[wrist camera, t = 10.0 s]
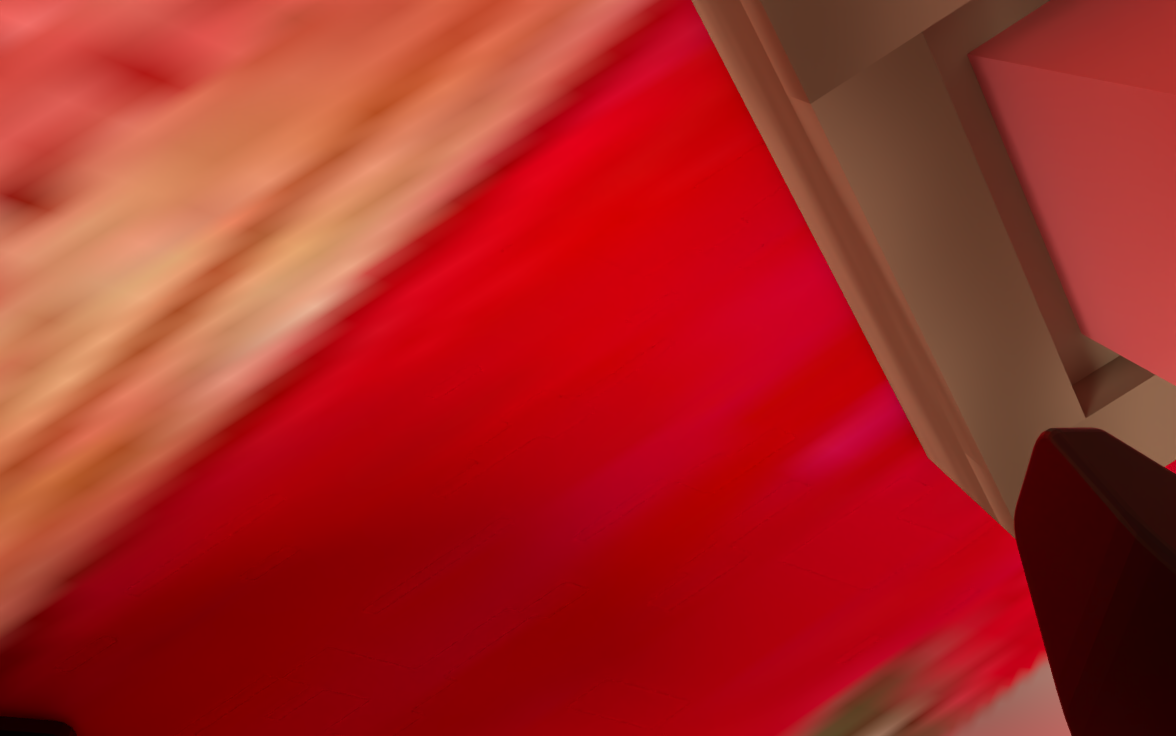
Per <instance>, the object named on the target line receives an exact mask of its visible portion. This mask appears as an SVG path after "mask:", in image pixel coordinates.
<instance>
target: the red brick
mask: <svg viewBox="0 0 1176 736" xmlns="http://www.w3.org/2000/svg"><path fill="white" fill-rule="evenodd" d="M967 56H968V58H969V60H970V63H971V65H972V68H973V70H974V73H975V75H976V78H977V80H978V82H979V85H980V87H981V90H982V92H983V95H984V97H985V100H986V102H987V104H988V107H989V109H990V112H991V114H992V117H993V119H994V121H995V124H996V126H997V129H998V131H999V134H1000V136H1001V139H1002V141H1003V143H1004V146H1005V148H1006V151H1007V153H1008V156H1009V158H1010V160H1011V163H1012V165H1013V168H1014V170H1015V173H1016V175H1017V178H1018V180H1019V182H1020V185H1021V187H1022V190H1023V192H1024V195H1025V197H1026V199H1027V202H1028V204H1029V207H1030V209H1031V212H1032V214H1033V217H1034V219H1035V221H1036V224H1037V226H1038V229H1039V231H1040V234H1041V236H1042V239H1043V241H1044V243H1045V246H1046V248H1047V251H1048V253H1049V256H1050V258H1051V260H1052V263H1053V265H1054V268H1055V270H1056V273H1057V275H1058V278H1059V280H1060V282H1061V285H1062V287H1063V290H1064V292H1065V295H1066V297H1067V299H1068V302H1069V304H1070V307H1071V309H1072V312H1073V314H1074V317H1075V319H1076V321H1077V324H1078V326H1079V329H1080V331H1081V334H1083V335H1085V336H1086V337H1088V338H1090V339H1092V340H1094V341H1095V342H1097V343H1099V344H1101V345H1103V346H1104V347H1106V348H1108V349H1110V350H1112V351H1113V352H1115V353H1117V354H1119V355H1121V356H1123V357H1124V358H1126V359H1128V360H1130V361H1132V362H1133V363H1135V364H1137V365H1139V366H1141V367H1142V368H1144V369H1146V370H1148V371H1150V372H1151V373H1153V374H1155V375H1157V376H1159V377H1160V378H1162V379H1164V380H1166V381H1168V382H1169V383H1171V384H1173V385H1175V386H1176V0H1050V1H1048V2H1047V3H1045V4H1044V5H1042V6H1041V7H1039V8H1037V9H1036V10H1034V11H1033V12H1031V13H1030V14H1028V15H1027V16H1025V17H1024V18H1022V19H1021V20H1019V21H1017V22H1016V23H1014V24H1013V25H1011V26H1010V27H1008V28H1007V29H1005V30H1004V31H1002V32H1000V33H999V34H997V35H996V36H994V37H993V38H991V39H990V40H988V41H987V42H985V43H983V44H982V45H980V46H979V47H977V48H976V49H974V50H973V51H971V52H970V53H968V54H967Z"/></svg>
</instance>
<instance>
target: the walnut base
mask: <svg viewBox="0 0 1176 736" xmlns="http://www.w3.org/2000/svg"><path fill="white" fill-rule="evenodd" d="M1048 1H1050V0H692V2H693V4H694V6H695V8H696V10H697V12H698V14H699V16H700V18H701V20H702V22H703V24H704V26H705V27H706V29H707V31H708V33H709V35H710V37H711V39H712V41H713V43H714V45H715V47H716V49H717V51H718V53H719V55H720V56H721V58H722V60H723V62H724V64H725V66H726V68H727V70H728V72H729V74H730V76H731V78H732V80H733V82H734V84H735V85H736V87H737V89H738V91H739V93H740V95H741V97H742V99H743V101H744V103H745V105H746V107H747V109H748V111H749V113H750V114H751V116H752V118H753V120H754V122H755V124H756V126H757V128H758V130H759V132H760V134H761V136H762V138H763V140H764V142H765V143H766V145H767V147H768V149H769V151H770V153H771V155H772V157H773V159H774V161H775V163H776V165H777V167H778V169H779V171H780V172H781V174H782V176H783V178H784V180H785V182H786V184H787V186H788V188H789V190H790V192H791V194H792V196H793V198H794V200H795V201H796V203H797V205H798V207H799V209H800V211H801V213H802V215H803V217H804V219H805V221H806V223H807V225H808V227H809V229H810V230H811V232H812V234H813V236H814V238H815V240H816V242H817V244H818V246H819V248H820V250H821V252H822V254H823V256H824V257H825V259H826V261H827V263H828V265H829V267H830V269H831V271H832V273H833V275H834V277H835V279H836V281H837V283H838V285H839V286H840V288H841V290H842V292H843V294H844V296H845V298H846V300H847V302H848V304H849V306H850V308H851V310H852V312H853V314H854V315H855V317H856V319H857V321H858V323H859V325H860V327H861V329H862V331H863V333H864V335H865V337H866V339H867V341H868V343H869V344H870V346H871V348H872V350H873V352H874V354H875V356H876V358H877V360H878V362H879V364H880V366H881V368H882V370H883V372H884V373H885V375H886V377H887V379H888V381H889V383H890V385H891V387H892V389H893V391H894V393H895V395H896V397H897V399H898V401H899V402H900V404H901V406H902V408H903V410H904V412H905V414H906V416H907V418H908V420H909V422H910V424H911V426H912V428H913V430H914V431H915V433H916V435H917V437H918V439H919V441H920V443H921V445H922V447H923V449H924V451H925V453H926V455H927V457H928V458H929V459H930V460H931V461H932V462H933V463H934V464H935V465H937V466H938V467H939V468H940V469H941V470H942V471H943V472H944V473H945V474H946V475H947V476H948V477H949V478H951V479H952V480H953V481H954V482H955V483H956V484H957V485H958V486H959V487H960V488H961V489H962V490H963V491H965V492H966V493H967V494H968V495H969V496H970V497H971V498H972V499H973V500H974V501H975V502H976V503H977V504H979V505H980V506H981V507H982V508H983V509H984V510H985V511H986V512H987V513H988V514H989V515H990V516H991V517H993V518H994V519H995V520H996V521H997V522H998V523H999V524H1000V525H1001V526H1002V527H1003V528H1004V529H1005V530H1007V531H1008V532H1009V533H1010V534H1011V535H1012V536H1013V537H1014V538H1015V531H1014V515H1015V509H1016V504H1017V501H1018V498H1019V494H1020V491H1021V488H1022V484H1023V481H1024V478H1025V474H1026V471H1027V468H1028V464H1029V461H1030V458H1031V454H1032V451H1033V448H1034V445H1035V443H1036V440H1037V438H1038V437H1039V436H1040V434H1041V433H1042V432H1044V431H1045V430H1047V429H1049V428H1075V427H1093V428H1099V429H1102V430H1104V431H1106V432H1108V433H1109V434H1111V435H1113V436H1114V437H1116V438H1118V439H1119V440H1121V441H1123V442H1124V443H1126V444H1127V445H1129V446H1131V447H1132V448H1134V449H1136V450H1137V451H1139V452H1140V453H1142V454H1144V455H1145V456H1147V457H1149V458H1150V459H1152V460H1154V461H1155V462H1157V463H1158V464H1160V465H1162V466H1163V467H1165V466H1166V465H1168V464H1170V463H1171V462H1173V461H1174V460H1176V386H1175V385H1173V384H1171V383H1169V382H1168V381H1166V380H1164V379H1162V378H1160V377H1159V376H1157V375H1155V374H1153V373H1151V372H1150V371H1148V370H1146V369H1144V368H1142V367H1141V366H1139V365H1137V364H1135V363H1133V362H1132V361H1130V360H1128V359H1126V358H1124V357H1123V356H1121V355H1119V354H1117V353H1115V352H1113V351H1112V350H1110V349H1108V348H1106V347H1104V346H1103V345H1101V344H1099V343H1097V342H1095V341H1094V340H1092V339H1090V338H1088V337H1086V336H1085V335H1083V334H1081V331H1080V329H1079V326H1078V324H1077V321H1076V319H1075V317H1074V314H1073V312H1072V309H1071V307H1070V304H1069V302H1068V299H1067V297H1066V295H1065V292H1064V290H1063V287H1062V285H1061V282H1060V280H1059V278H1058V275H1057V273H1056V270H1055V268H1054V265H1053V263H1052V260H1051V258H1050V256H1049V253H1048V251H1047V248H1046V246H1045V243H1044V241H1043V239H1042V236H1041V234H1040V231H1039V229H1038V226H1037V224H1036V221H1035V219H1034V217H1033V214H1032V212H1031V209H1030V207H1029V204H1028V202H1027V199H1026V197H1025V195H1024V192H1023V190H1022V187H1021V185H1020V182H1019V180H1018V178H1017V175H1016V173H1015V170H1014V168H1013V165H1012V163H1011V160H1010V158H1009V156H1008V153H1007V151H1006V148H1005V146H1004V143H1003V141H1002V139H1001V136H1000V134H999V131H998V129H997V126H996V124H995V121H994V119H993V117H992V114H991V112H990V109H989V107H988V104H987V102H986V100H985V97H984V95H983V92H982V90H981V87H980V85H979V82H978V80H977V78H976V75H975V73H974V70H973V68H972V65H971V63H970V60H969V58H968V56H967V54H968V53H970V52H971V51H973V50H974V49H976V48H977V47H979V46H980V45H982V44H983V43H985V42H987V41H988V40H990V39H991V38H993V37H994V36H996V35H997V34H999V33H1000V32H1002V31H1004V30H1005V29H1007V28H1008V27H1010V26H1011V25H1013V24H1014V23H1016V22H1017V21H1019V20H1021V19H1022V18H1024V17H1025V16H1027V15H1028V14H1030V13H1031V12H1033V11H1034V10H1036V9H1037V8H1039V7H1041V6H1042V5H1044V4H1045V3H1047V2H1048ZM1015 539H1016V538H1015Z"/></svg>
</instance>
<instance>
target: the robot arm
mask: <svg viewBox="0 0 1176 736" xmlns="http://www.w3.org/2000/svg"><path fill="white" fill-rule="evenodd" d="M1014 531H1015V538H1016V542H1017V546H1018V550H1019V554H1020V557H1021V561H1022V565H1023V568H1024V572H1025V576H1026V579H1027V583H1028V587H1029V590H1030V594H1031V598H1032V601H1033V605H1034V609H1035V613H1036V616H1037V620H1038V624H1039V627H1040V631H1041V635H1042V638H1043V642H1044V646H1045V649H1046V653H1047V657H1048V661H1049V664H1050V668H1051V672H1052V675H1053V679H1054V682H1055V686H1056V690H1057V693H1058V696H1059V700H1060V703H1061V706H1062V709H1063V713H1064V716H1065V719H1066V722H1067V724H1068V727H1069V730H1070V732H1071V735H1072V736H1176V474H1175V473H1173V472H1172V471H1170V470H1168V469H1167V468H1165V467H1163V466H1162V465H1160V464H1158V463H1157V462H1155V461H1154V460H1152V459H1150V458H1149V457H1147V456H1145V455H1144V454H1142V453H1140V452H1139V451H1137V450H1136V449H1134V448H1132V447H1131V446H1129V445H1127V444H1126V443H1124V442H1123V441H1121V440H1119V439H1118V438H1116V437H1114V436H1113V435H1111V434H1109V433H1108V432H1106V431H1104V430H1102V429H1099V428H1093V427H1075V428H1049V429H1047V430H1045V431H1044V432H1042V433H1041V434H1040V436H1039V437H1038V438H1037V440H1036V443H1035V445H1034V448H1033V451H1032V454H1031V458H1030V461H1029V464H1028V468H1027V471H1026V474H1025V478H1024V481H1023V484H1022V488H1021V491H1020V494H1019V498H1018V501H1017V504H1016V509H1015V515H1014ZM0 736H77V734H76V733H75V731H74V730H73V729H72V727H70V726H68V725H67V724H65V723H63V722H58V721H53V720H40V719H28V718H15V717H2V716H0Z"/></svg>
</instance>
